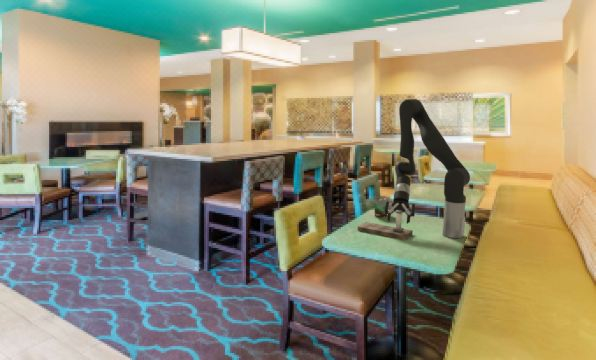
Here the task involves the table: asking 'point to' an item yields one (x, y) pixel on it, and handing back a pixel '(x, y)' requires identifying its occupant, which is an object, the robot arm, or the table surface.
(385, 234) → the brown wooden board
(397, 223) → the fader
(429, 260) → the table surface
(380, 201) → the potted plant
